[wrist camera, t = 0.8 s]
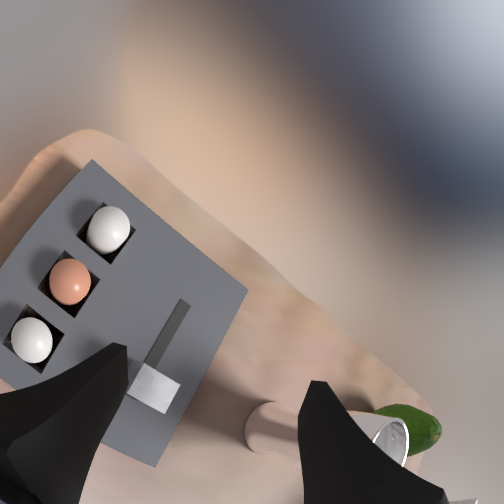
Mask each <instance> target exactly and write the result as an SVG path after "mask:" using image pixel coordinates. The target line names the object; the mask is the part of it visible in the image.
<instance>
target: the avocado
mask: <svg viewBox="0 0 504 504" xmlns="http://www.w3.org/2000/svg"><path fill="white" fill-rule="evenodd" d="M372 414H377V415H382V416H387V417H393V418H400V419H402V420H403V421H404V422H405V424H406V426H407V429H408V435H409V445H408V452H407V456H406V457H408V456H412V455H415V454H417V453H420V452H422V451H425V450H427V449H429V448H430V447H432V446H433V445H434V444H435V443H436V442H437V441H438V439H439V438H440V436H441V434H442V430H441V429H442V427H441V424H440V423H439V421H438V420H437V419H436V418H435V417H434V416H432V415H430V414H428V413H425V412H423V411H421V410H419V409H416V408H414V407H412V406H409V405H403V404H394V405H389V406H385V407H382V408H380V409H378V410H376V411H374V412H373V413H372Z"/></svg>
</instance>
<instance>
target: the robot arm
mask: <svg viewBox="0 0 504 504" xmlns="http://www.w3.org/2000/svg"><path fill="white" fill-rule="evenodd" d="M128 385H129V381H128V361H127V346H125V345H122V344H118V343H115V342H112V343H111V344H109V345H108V346H106V347H104V348H103V349H101V350H100V351H98V352H96V353H95V354H93V355H92V356H90V357H89V358H87V359H85V360H84V361H82V362H80V363H79V364H77V365H75V366H74V367H72V368H70V369H68V370H66V371H64V372H62V373H61V374H59V375H57V376H55V377H52V378H50V379H48V380H46V381H43V382H41V383H38V384H35V385H33V386H29V387H26V388H23V389H19V390H16V391H12V392H8V393H3V394H0V504H79V500H80V497H81V493H82V490H83V486H84V483H85V480H86V477H87V474H88V471H89V468H90V466H91V463H92V460H93V458H94V455H95V452H96V450H97V448H98V446H99V444H100V442H101V440H102V438H103V436H104V434H105V433H106V431H107V429H108V427H109V425H110V423H111V422H112V420H113V418H114V416H115V414H116V413H117V411H118V409H119V407H120V405H121V403H122V400H123V398H124V395H125V393H126V390H127V387H128ZM298 445H299V453H300V460H301V468H302V475H303V483H304V504H449V502H448V499H447V496H446V494H445V492H444V489H442V488H440V487H438V486H436V485H434V484H432V483H430V482H428V481H426V480H424V479H422V478H420V477H418V476H417V475H415V474H413V473H412V472H410V471H409V470H407V469H406V468H404V467H403V466H401V465H400V464H399V463H397V462H396V461H395V460H393V459H392V458H391V457H389V456H388V455H387V454H386V453H385V452H384V451H382V450H381V449H380V448H379V447H378V446H377V445H376V444H375V443H374V442H373V441H372V440H371V439H370V438H369V437H368V436H367V435H366V434H365V433H364V431H363V430H362V429H361V428H360V427H359V426H358V425H357V423H356V422H355V421H354V420H353V418H352V417H351V416H350V414H349V413H348V412H347V410H346V409H345V408H344V406H343V405H342V404H341V402H340V401H339V399H338V398H337V396H336V395H335V394H334V392H333V391H332V389H331V388H330V386H329V385H328V383H327V382H323V381H313V380H311V383H310V385H309V388H308V391H307V393H306V396H305V399H304V401H303V404H302V406H301V409H300V411H299V414H298Z"/></svg>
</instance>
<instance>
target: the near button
mask: <svg viewBox="0 0 504 504" xmlns="http://www.w3.org/2000/svg"><path fill="white" fill-rule="evenodd" d="M11 342H12V346H13V349H14V351H15V352H16V354H17V355H18V356H19V357H20V358H21V359H23V360H24V361H27V362H30V363H38V362H41V361H43V360H44V359H45V358H46V357H47V356H48V355H49V353H50V351H51V348H52V335H51V332H50V330H49V328H48V326H47V325H46V324H45V323H43V322H42V321H40V320H38V319H36V318H31V317H28V318H24V319H21V320H20V321H18V322H17V323H16V325H15V326H14V328H13V330H12V334H11Z"/></svg>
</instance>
